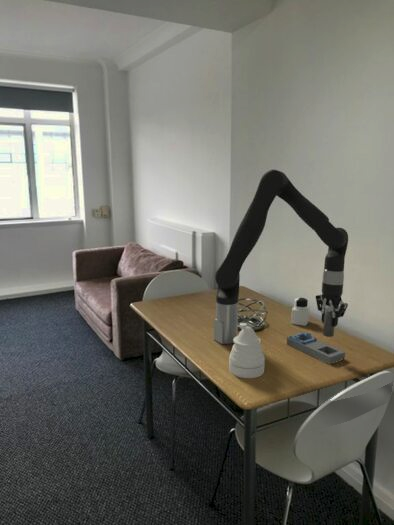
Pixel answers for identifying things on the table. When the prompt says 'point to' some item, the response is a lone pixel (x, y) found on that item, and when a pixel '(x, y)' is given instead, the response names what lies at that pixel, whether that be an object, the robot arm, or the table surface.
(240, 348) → the honey pot
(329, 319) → the plug
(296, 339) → the gray socket base
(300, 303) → the medicine bottle
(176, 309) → the table surface
